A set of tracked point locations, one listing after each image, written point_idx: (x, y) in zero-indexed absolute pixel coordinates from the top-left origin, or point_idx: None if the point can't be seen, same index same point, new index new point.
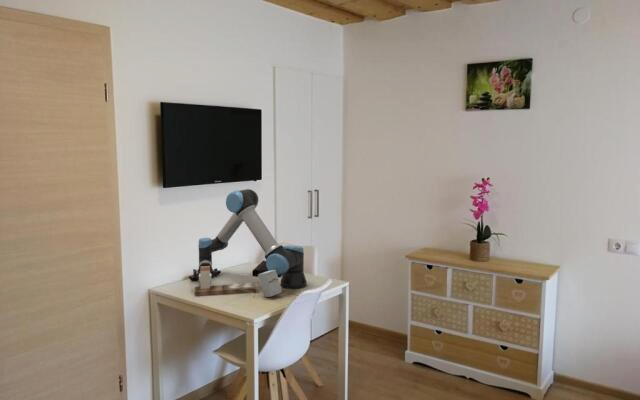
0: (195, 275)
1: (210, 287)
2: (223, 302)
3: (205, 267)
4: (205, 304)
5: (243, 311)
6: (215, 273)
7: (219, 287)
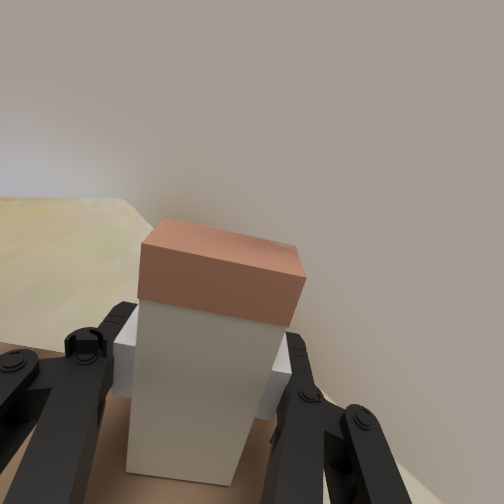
0: (335, 414)
1: (117, 484)
2: (138, 281)
3: (225, 233)
4: None
5: (119, 219)
6: (32, 358)
7: (24, 444)
